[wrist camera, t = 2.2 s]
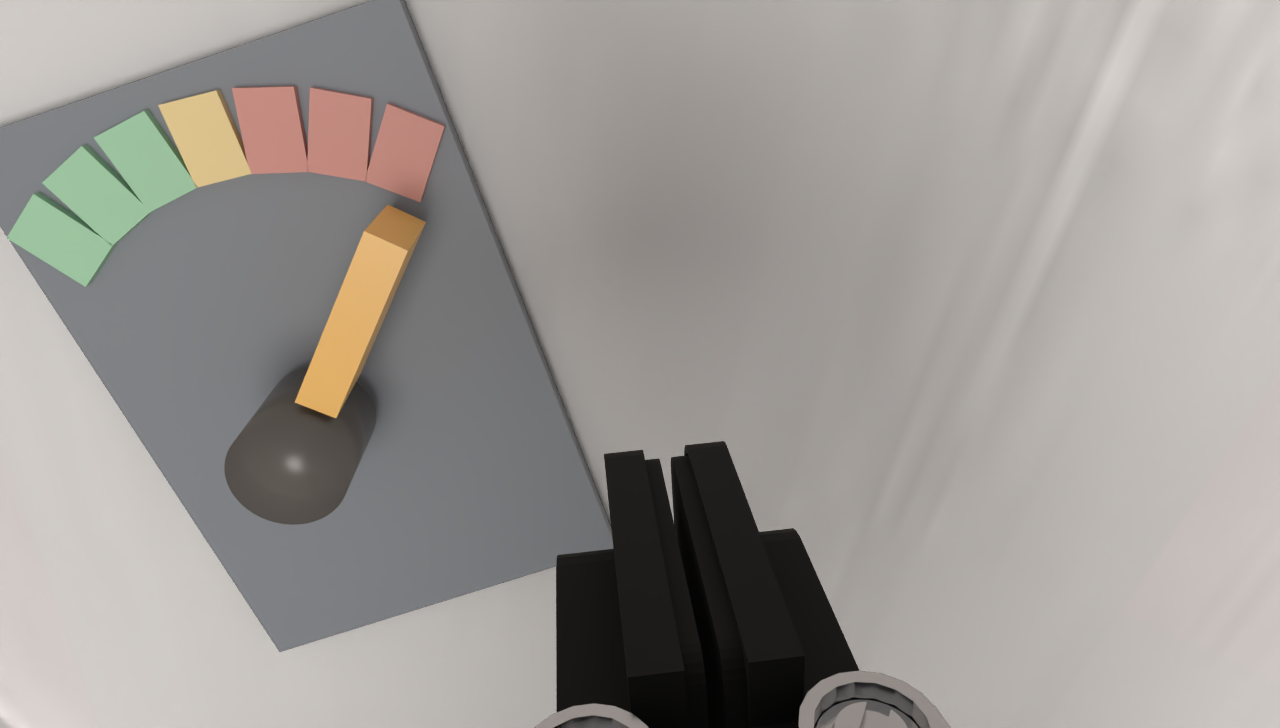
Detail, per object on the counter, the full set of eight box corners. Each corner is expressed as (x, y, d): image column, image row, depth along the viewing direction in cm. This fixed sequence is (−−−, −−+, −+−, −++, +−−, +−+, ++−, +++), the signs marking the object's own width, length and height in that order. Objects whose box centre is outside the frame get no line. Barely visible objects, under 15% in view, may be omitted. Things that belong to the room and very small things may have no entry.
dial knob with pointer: (354, 473, 28) (324, 540, 24) (254, 436, 27) (209, 499, 23) (460, 237, 25) (444, 274, 21) (352, 186, 24) (317, 216, 20)
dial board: (614, 535, 31) (616, 556, 30) (286, 637, 32) (274, 662, 31) (401, -7, 23) (392, -9, 22) (-34, 141, 24) (-67, 148, 23)
